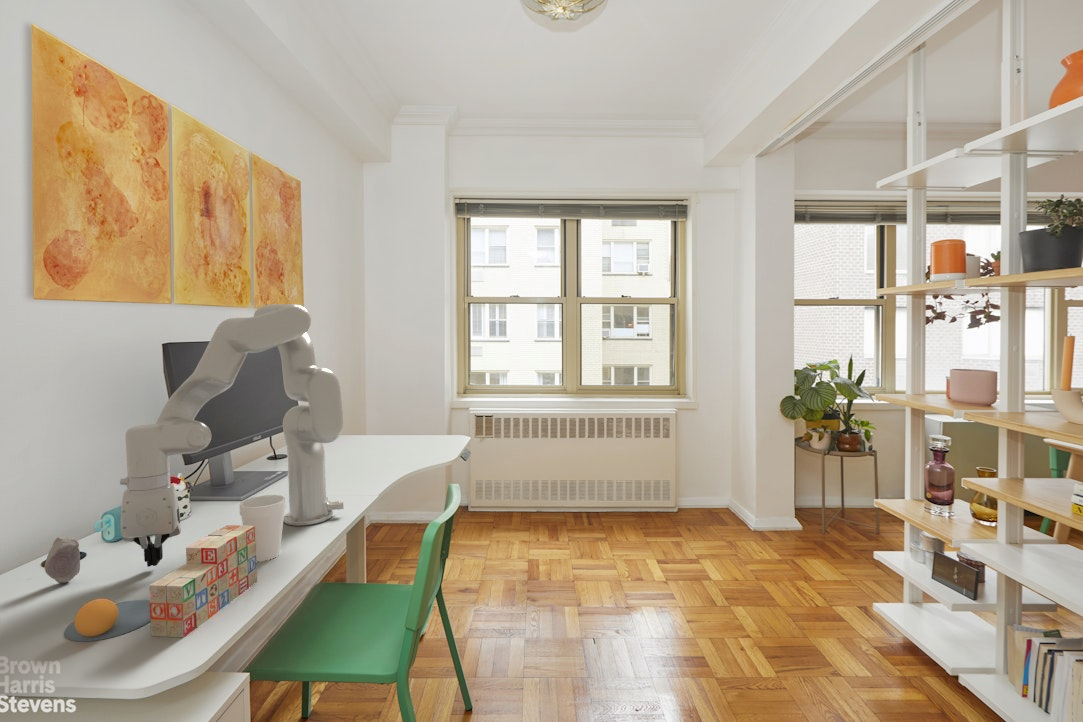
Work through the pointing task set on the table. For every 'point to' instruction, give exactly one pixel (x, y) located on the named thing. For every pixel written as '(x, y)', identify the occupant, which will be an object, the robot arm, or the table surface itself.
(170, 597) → the stack of blocks
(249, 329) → the robot arm
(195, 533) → the table surface
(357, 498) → the table surface
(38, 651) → the table surface
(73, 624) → the disc
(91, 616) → the ball
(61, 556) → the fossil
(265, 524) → the foam cup
